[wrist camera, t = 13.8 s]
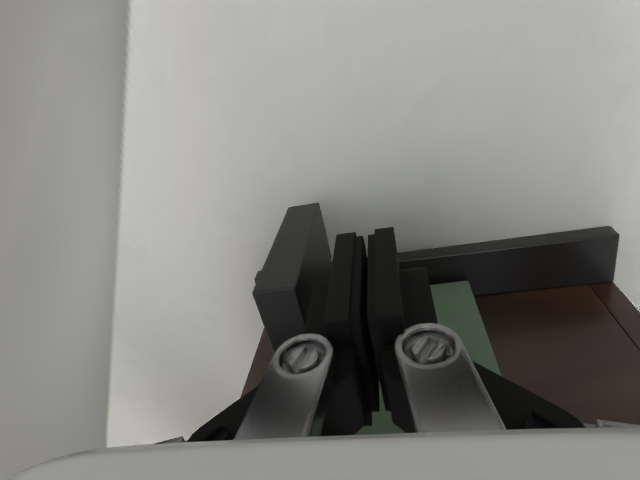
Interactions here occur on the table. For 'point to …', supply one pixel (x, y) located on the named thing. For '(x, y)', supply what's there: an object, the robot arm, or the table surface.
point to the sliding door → (314, 263)
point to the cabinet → (543, 318)
